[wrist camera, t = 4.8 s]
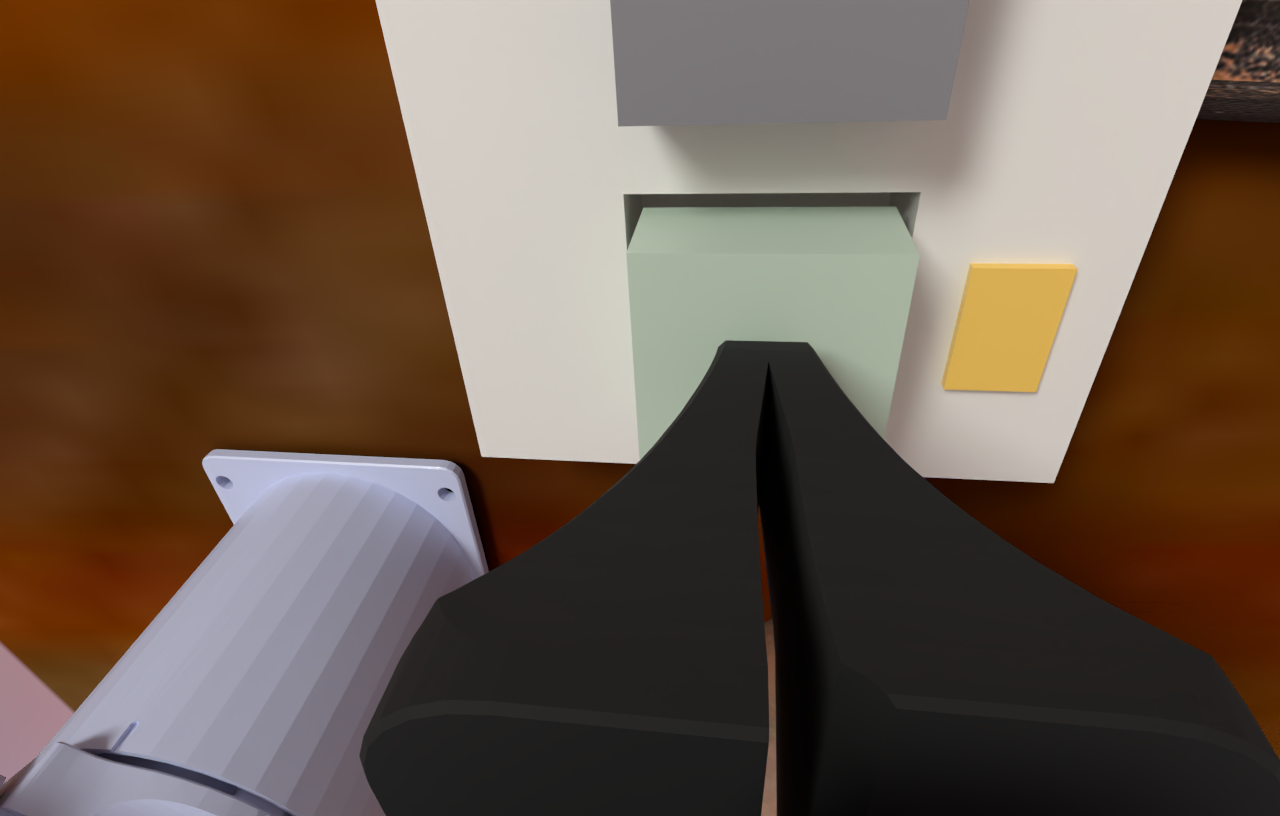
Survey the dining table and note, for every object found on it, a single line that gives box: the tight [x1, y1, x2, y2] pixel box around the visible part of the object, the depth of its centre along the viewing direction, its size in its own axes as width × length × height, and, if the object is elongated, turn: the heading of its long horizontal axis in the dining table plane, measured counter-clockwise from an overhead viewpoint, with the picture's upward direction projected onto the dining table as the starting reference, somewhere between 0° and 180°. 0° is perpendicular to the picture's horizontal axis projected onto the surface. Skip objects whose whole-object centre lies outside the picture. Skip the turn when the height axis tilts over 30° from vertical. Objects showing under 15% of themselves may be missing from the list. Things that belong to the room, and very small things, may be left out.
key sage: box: [626, 207, 920, 460], centre depth 12 cm, size 4×4×2 cm
